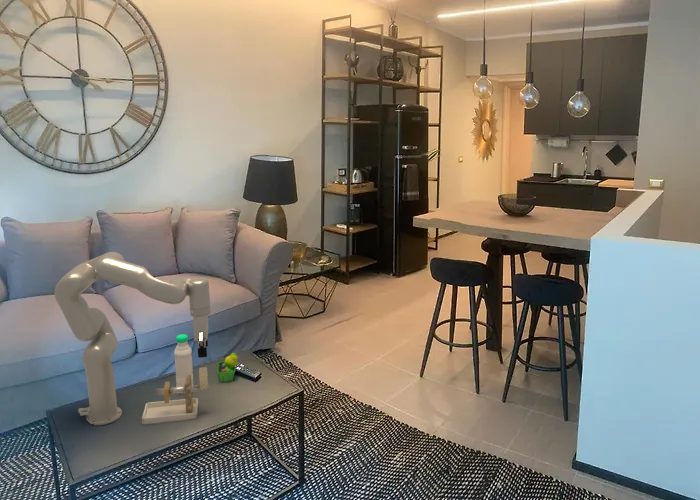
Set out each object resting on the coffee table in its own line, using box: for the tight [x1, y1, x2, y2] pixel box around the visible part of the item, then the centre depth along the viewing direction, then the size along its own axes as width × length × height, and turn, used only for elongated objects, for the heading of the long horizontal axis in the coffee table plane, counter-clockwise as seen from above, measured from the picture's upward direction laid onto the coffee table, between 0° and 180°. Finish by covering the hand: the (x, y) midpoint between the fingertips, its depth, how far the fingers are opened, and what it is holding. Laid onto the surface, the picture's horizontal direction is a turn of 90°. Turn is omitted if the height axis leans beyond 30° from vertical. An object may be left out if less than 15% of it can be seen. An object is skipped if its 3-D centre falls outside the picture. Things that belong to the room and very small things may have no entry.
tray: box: [141, 397, 199, 426], centre depth 210 cm, size 20×12×2 cm, turn 103°
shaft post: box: [184, 375, 194, 414], centre depth 211 cm, size 2×8×14 cm, turn 13°
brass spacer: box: [163, 381, 171, 403], centre depth 208 cm, size 2×6×6 cm, turn 13°
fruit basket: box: [216, 352, 239, 383], centre depth 240 cm, size 11×9×11 cm
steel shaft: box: [155, 366, 209, 396], centre depth 209 cm, size 20×3×9 cm, turn 103°
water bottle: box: [173, 333, 194, 395], centre depth 226 cm, size 7×7×25 cm
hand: (203, 351), depth 208 cm, fingers open, 9 cm apart
